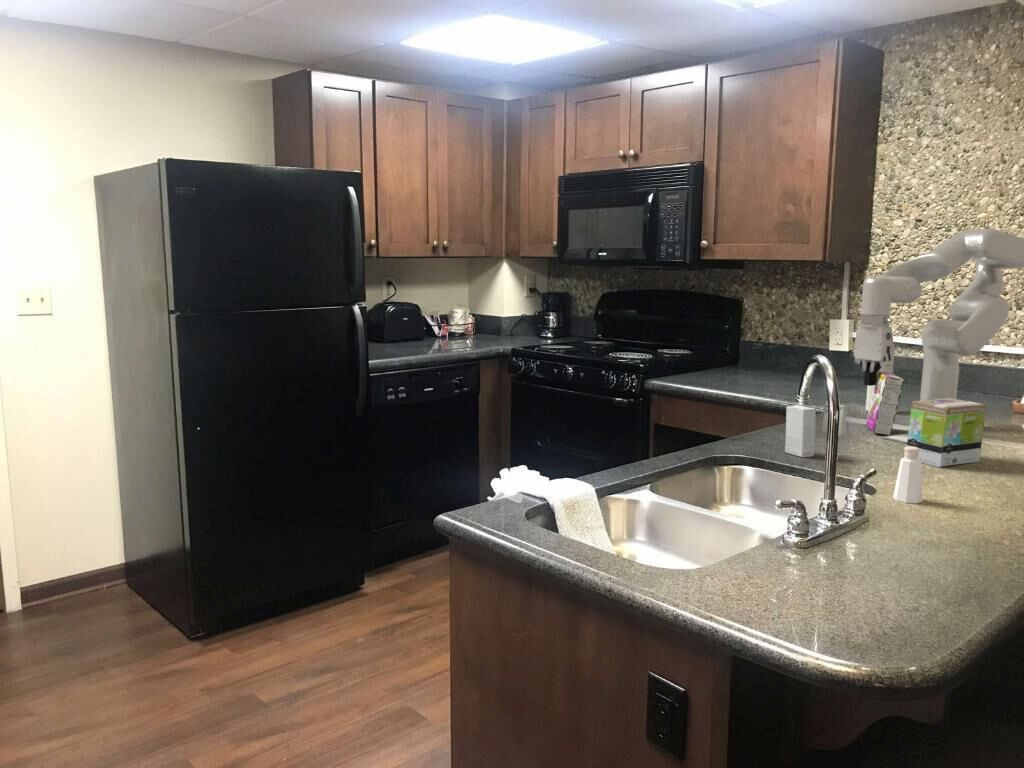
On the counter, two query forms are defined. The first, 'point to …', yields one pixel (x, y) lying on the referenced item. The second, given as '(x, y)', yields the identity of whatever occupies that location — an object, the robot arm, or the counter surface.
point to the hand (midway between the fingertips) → (869, 384)
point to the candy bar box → (884, 403)
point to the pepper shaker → (909, 477)
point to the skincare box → (800, 430)
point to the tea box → (946, 431)
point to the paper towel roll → (870, 388)
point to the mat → (898, 438)
